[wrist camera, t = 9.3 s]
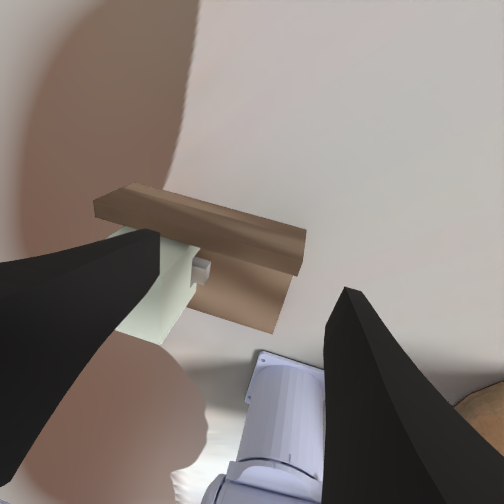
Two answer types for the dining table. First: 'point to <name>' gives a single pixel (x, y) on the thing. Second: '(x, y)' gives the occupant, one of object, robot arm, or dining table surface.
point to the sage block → (162, 292)
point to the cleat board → (218, 250)
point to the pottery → (486, 414)
